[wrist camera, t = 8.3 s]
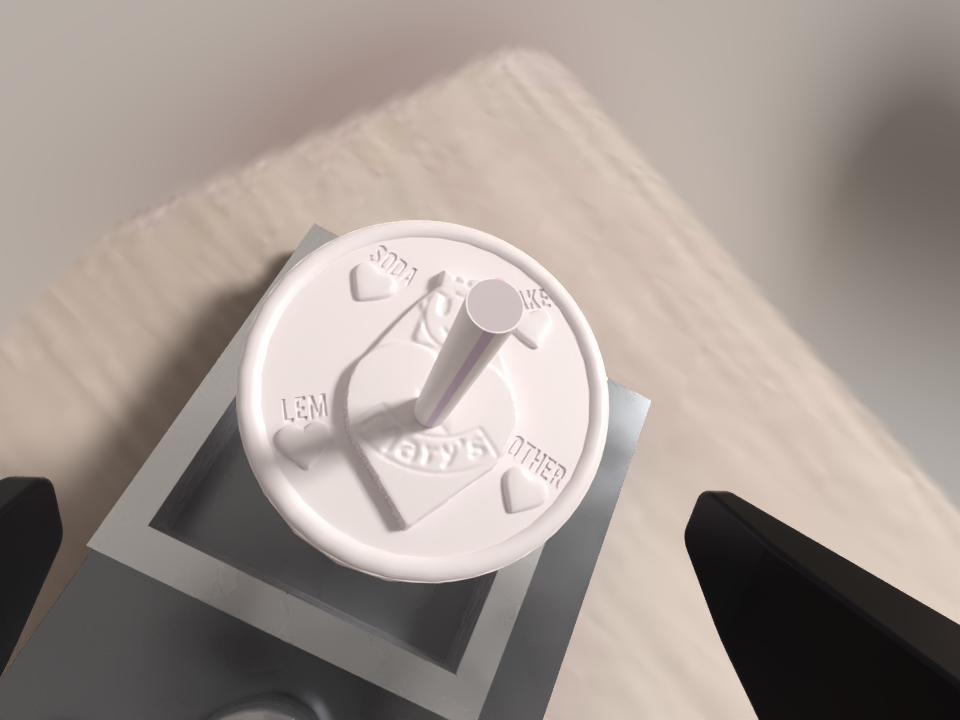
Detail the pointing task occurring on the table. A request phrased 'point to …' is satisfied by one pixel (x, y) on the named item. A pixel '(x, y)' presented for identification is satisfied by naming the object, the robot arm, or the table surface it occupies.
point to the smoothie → (422, 401)
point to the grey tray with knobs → (295, 598)
